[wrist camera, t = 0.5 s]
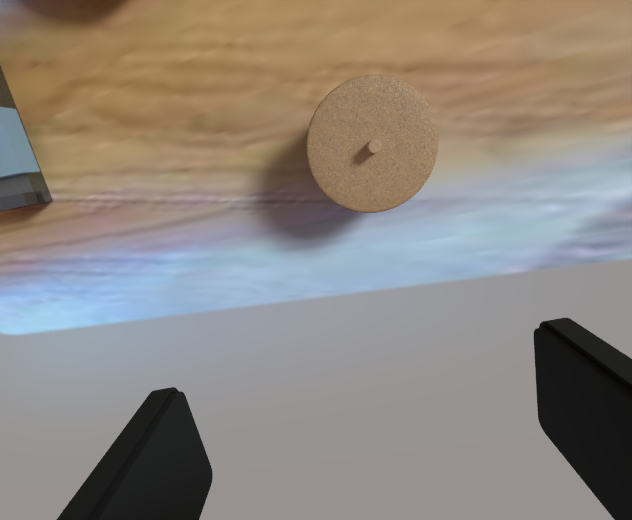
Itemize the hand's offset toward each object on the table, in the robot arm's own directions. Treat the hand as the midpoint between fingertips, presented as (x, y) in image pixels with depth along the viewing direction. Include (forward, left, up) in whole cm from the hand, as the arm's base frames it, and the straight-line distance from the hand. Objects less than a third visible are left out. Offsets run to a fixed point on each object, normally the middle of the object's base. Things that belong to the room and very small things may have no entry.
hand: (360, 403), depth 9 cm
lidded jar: (-6, +4, -30) cm, 31 cm away
